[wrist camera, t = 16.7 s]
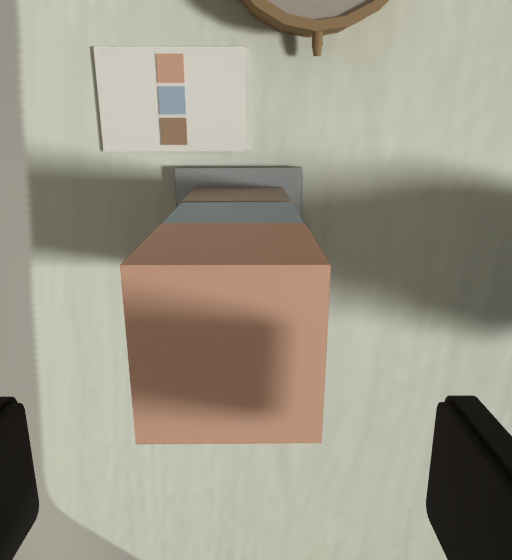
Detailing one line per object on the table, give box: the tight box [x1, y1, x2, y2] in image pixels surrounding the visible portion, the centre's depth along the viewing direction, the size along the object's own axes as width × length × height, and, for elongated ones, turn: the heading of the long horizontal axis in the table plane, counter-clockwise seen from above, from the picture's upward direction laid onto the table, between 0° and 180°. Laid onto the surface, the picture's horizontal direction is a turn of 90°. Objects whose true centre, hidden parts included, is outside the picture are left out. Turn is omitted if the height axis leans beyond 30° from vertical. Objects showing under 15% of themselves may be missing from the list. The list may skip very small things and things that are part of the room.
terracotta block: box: [120, 223, 331, 444], centre depth 16 cm, size 6×6×6 cm
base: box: [175, 167, 302, 217], centre depth 28 cm, size 8×8×7 cm
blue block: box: [163, 202, 304, 223], centre depth 22 cm, size 6×6×6 cm
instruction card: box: [93, 46, 246, 152], centre depth 28 cm, size 6×9×1 cm, turn 90°
